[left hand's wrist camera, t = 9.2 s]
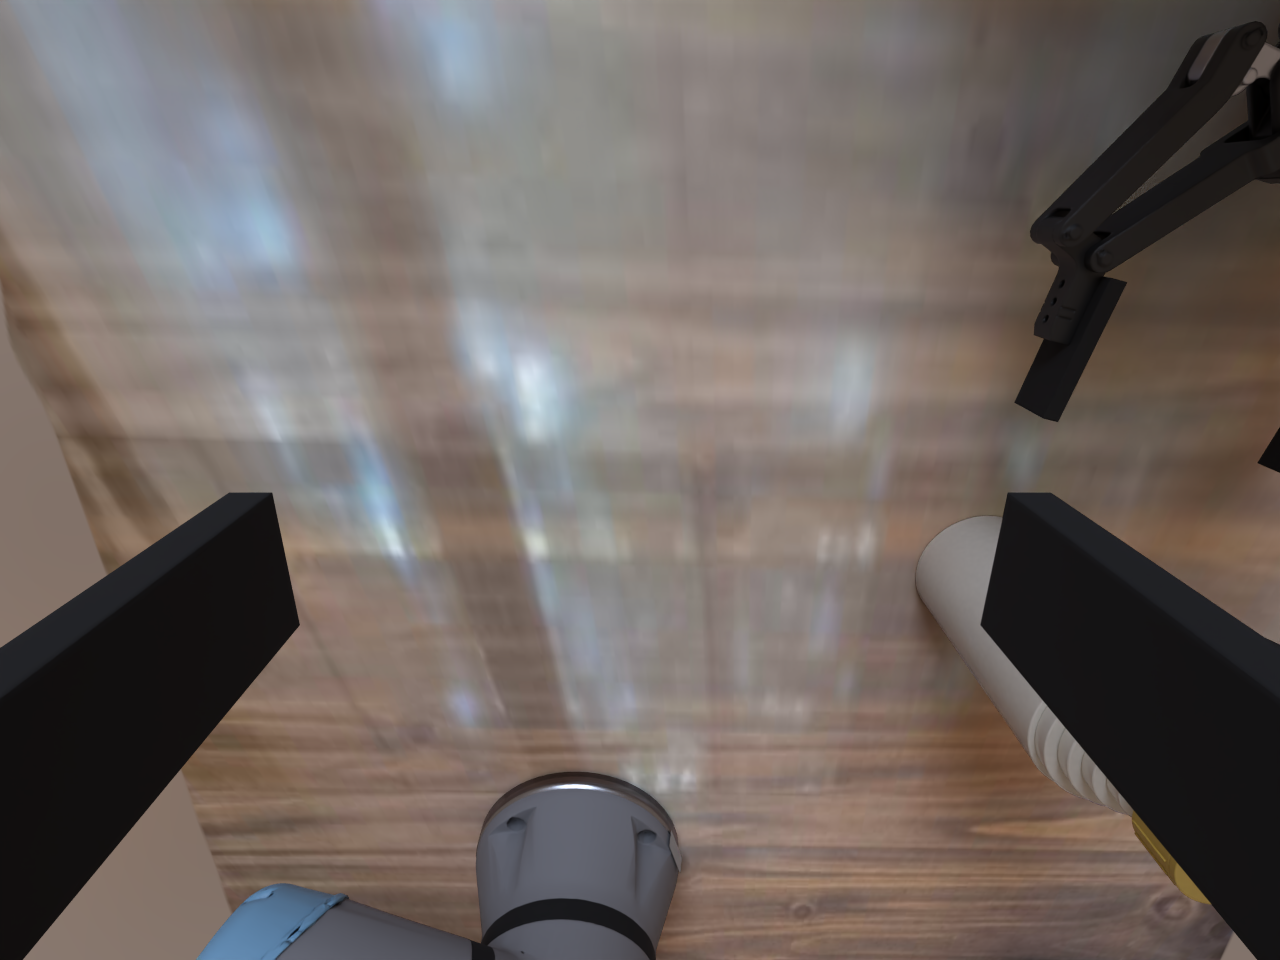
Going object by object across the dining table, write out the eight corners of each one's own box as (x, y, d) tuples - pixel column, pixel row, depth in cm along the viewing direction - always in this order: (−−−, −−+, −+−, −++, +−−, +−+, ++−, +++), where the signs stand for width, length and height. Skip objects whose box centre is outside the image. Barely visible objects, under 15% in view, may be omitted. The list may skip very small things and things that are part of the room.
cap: (1273, 797, 26) (1330, 852, 24) (1180, 864, 28) (1226, 922, 26) (1197, 746, 26) (1250, 799, 23) (1105, 818, 27) (1146, 874, 25)
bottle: (1064, 556, 43) (1390, 834, 24) (976, 640, 46) (1210, 952, 27) (975, 492, 42) (1250, 736, 23) (889, 583, 44) (1073, 872, 25)
